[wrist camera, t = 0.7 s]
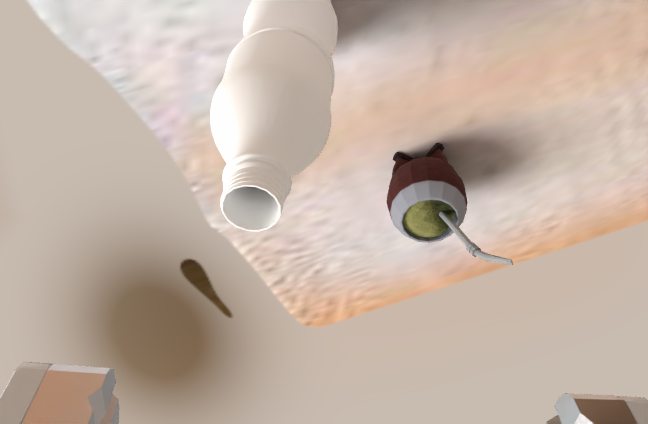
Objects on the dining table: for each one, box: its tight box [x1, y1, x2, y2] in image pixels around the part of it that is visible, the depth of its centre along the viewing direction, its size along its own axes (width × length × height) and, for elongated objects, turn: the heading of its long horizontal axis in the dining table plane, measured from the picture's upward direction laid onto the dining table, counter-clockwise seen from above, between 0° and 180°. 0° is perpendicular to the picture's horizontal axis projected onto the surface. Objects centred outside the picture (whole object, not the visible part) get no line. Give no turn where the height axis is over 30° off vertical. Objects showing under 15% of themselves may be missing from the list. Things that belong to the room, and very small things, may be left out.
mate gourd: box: [387, 143, 513, 265], centre depth 51 cm, size 8×8×15 cm
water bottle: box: [210, 0, 338, 231], centre depth 38 cm, size 7×7×25 cm
